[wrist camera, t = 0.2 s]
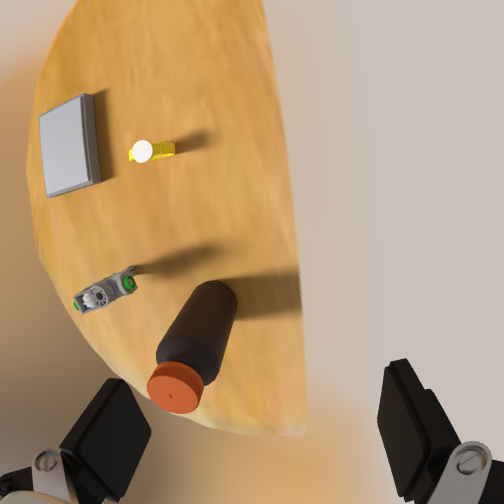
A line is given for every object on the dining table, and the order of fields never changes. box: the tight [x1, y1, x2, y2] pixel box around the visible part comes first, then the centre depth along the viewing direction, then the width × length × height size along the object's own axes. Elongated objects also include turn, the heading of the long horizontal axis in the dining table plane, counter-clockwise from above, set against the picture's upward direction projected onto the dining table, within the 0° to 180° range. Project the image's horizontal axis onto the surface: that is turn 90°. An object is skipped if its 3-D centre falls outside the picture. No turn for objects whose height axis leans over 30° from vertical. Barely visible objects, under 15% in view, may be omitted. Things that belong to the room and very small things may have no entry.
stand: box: [39, 93, 102, 198], centre depth 36 cm, size 14×10×3 cm
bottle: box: [147, 281, 237, 414], centre depth 32 cm, size 7×7×20 cm
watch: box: [129, 140, 175, 163], centre depth 34 cm, size 6×3×6 cm, turn 96°
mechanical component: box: [73, 266, 138, 315], centre depth 37 cm, size 3×10×10 cm, turn 113°
